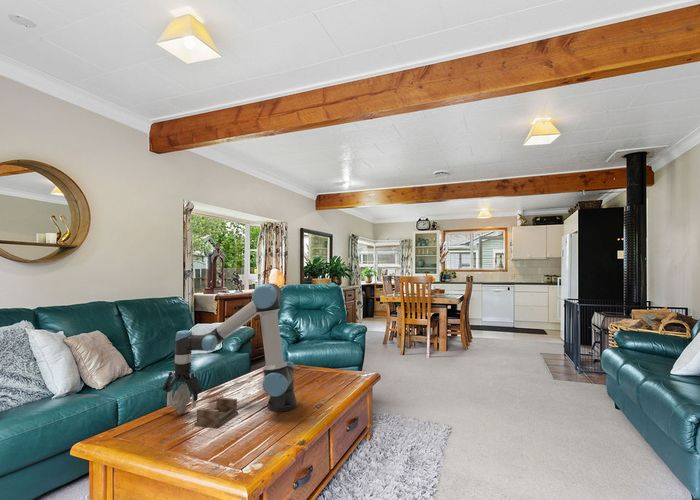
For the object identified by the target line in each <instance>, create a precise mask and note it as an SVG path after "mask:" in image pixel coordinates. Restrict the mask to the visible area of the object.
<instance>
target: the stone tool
mask: <svg viewBox="0 0 700 500" xmlns="http://www.w3.org/2000/svg"><path fill="white" fill-rule="evenodd" d="M190 401H191V392H190V390H189V386H188V385H187V384H186V383H185V382H182V383H181V384H180V385H179V387H177V389H176V390H175V392H174V393H173V396H172V404H171V406H172V408H173V409H174V411H177V415H178V416H181V415H182V414H184V413H185V412H187V410H188V408H187V405H189V404H190Z"/></svg>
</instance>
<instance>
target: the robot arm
mask: <svg viewBox="0 0 700 500" xmlns="http://www.w3.org/2000/svg"><path fill="white" fill-rule="evenodd" d="M282 298H283V292H282V288H280V287H279V286H278V284H276V283H270V282H269V283H262V284H259V285H258V286H257V287H256V288H254V290H253V292H252V293H251V301H250V302H249V303H247V304H246V305H245V306H243V307H242V308H241V309H239V310H238V311H237V312H235V313H234V314H233V315H231V316H230V317H229V318H227V319H226V320H224V322H222V323H220V324H219V325H218V326H217V327H215V328H214V329H212V330H211V331H210V332H208V333H204V334H193V331H192V330H188V329H184V330H179V331H177V332H175V340H174V341H175V346H174V347H175V349H174V351H175V353H174V370H172V371H170V372H168V377H167V378H166V381H165V383H164V385H163V387H162V391H164V392H166V393H165V398H166V407H169V406H172V399H173V390H172V389H174V387H175V386H176V385H177V383H180V382H181V383H184V382H185V383H186V385H187V387H188V389H190V391H191V392H192V394H191V399H190V401H191V403H190V404H191V405H190V406H191V407H190V408H191V409H194V408H196V407H197V401H198V397H199V395H198V394H199V393H202V392H203V391H202V388H201V386H200V382H199V381H198V377H197V372H196V371H195V372H191V370H192V352H193V351H198V352H199V351H201V352H202V351H204V352H209V351H215V349H216V348H217V346H218V345H220V344H222V342H223V341H224V340H225V339H227V338H228V337H230V335H233V333H235V332H236V331H237V330H239V329H240V328H241V327H242V326H244V325H246V323H248V322H249V321H251V320H252V319H253V318H255V317H256V316H257V315H259V318H260V326H261V327H260V328H261V335H262V343H263V351H264V359H265V361H264V362H265V365H264V366H263V368H262V369H263V377H264V378H263V380H262V388H263V391H264V392H265V393H266V394H267V395H268V396H269V397H268V401H267V409H268V410H270V411H273V412H288V411H292V410H294V409H296V408H297V407H298V399H297V397H296V394H295V364H294V362H292V361H284V353H283V347H282V338H281V329H280V321H279V315H278V312H279V311H280V310H281V304H280V301H281V300H282ZM172 380H173V381H172Z"/></svg>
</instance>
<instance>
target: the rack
mask: <svg viewBox="0 0 700 500" xmlns="http://www.w3.org/2000/svg"><path fill="white" fill-rule="evenodd" d="M215 404H216V407H214V408H203V407H202V408H201V407H200V408H196V422H194V426H195V427H204V428H213V429H219V428H221V427H222V426H224V425H225V424H226V423H228V422H229V421H231V420H233V418H235V417H237V416H238V415H239V411H237V409H238V406H237V405H238V398H228V397H218V398H216V403H215Z"/></svg>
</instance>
